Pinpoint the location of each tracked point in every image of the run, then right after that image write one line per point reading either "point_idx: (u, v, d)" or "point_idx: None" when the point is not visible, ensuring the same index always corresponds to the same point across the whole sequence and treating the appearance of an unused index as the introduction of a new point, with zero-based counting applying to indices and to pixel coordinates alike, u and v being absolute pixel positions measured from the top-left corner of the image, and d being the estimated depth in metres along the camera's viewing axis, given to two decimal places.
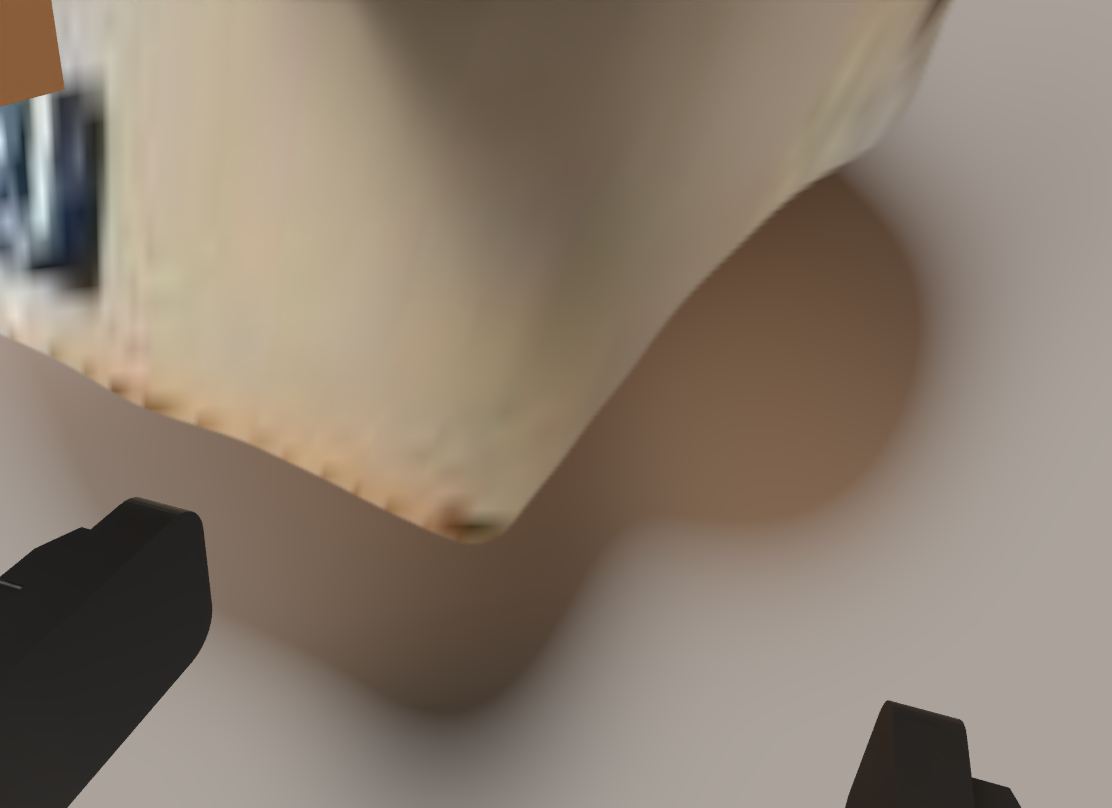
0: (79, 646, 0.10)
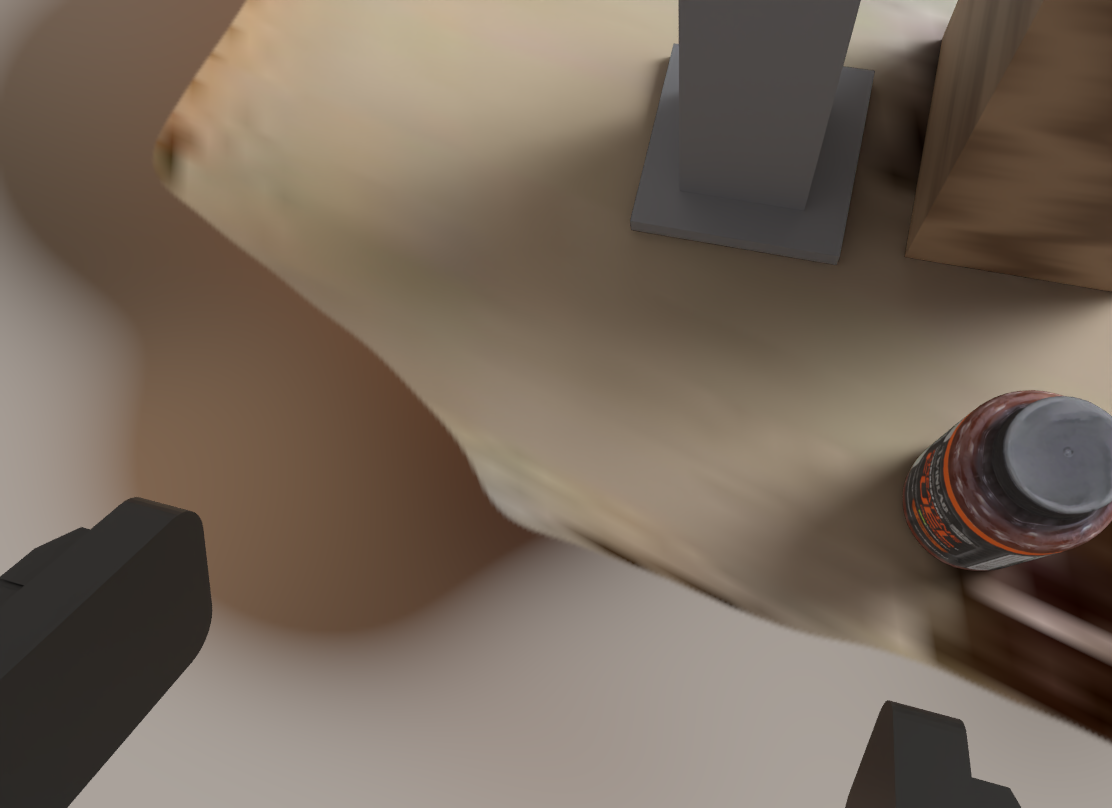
0: (80, 646, 0.10)
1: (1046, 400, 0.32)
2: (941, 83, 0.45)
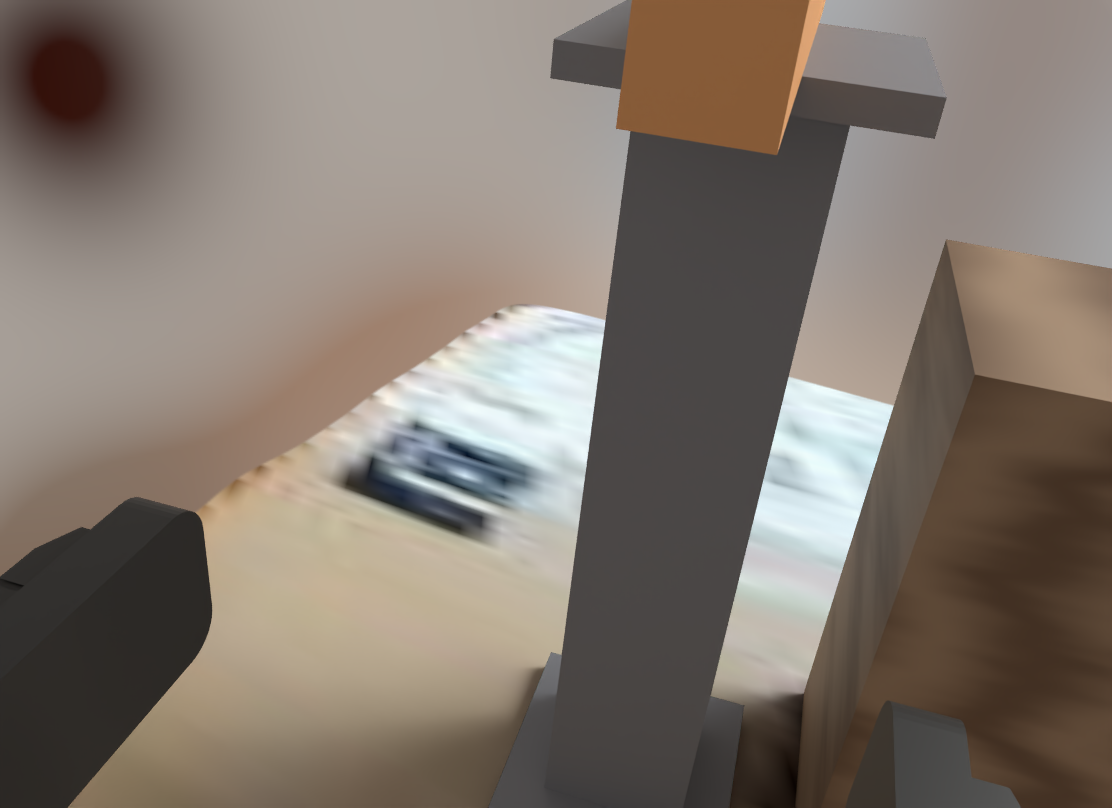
0: (79, 646, 0.10)
1: None
2: (809, 720, 0.46)
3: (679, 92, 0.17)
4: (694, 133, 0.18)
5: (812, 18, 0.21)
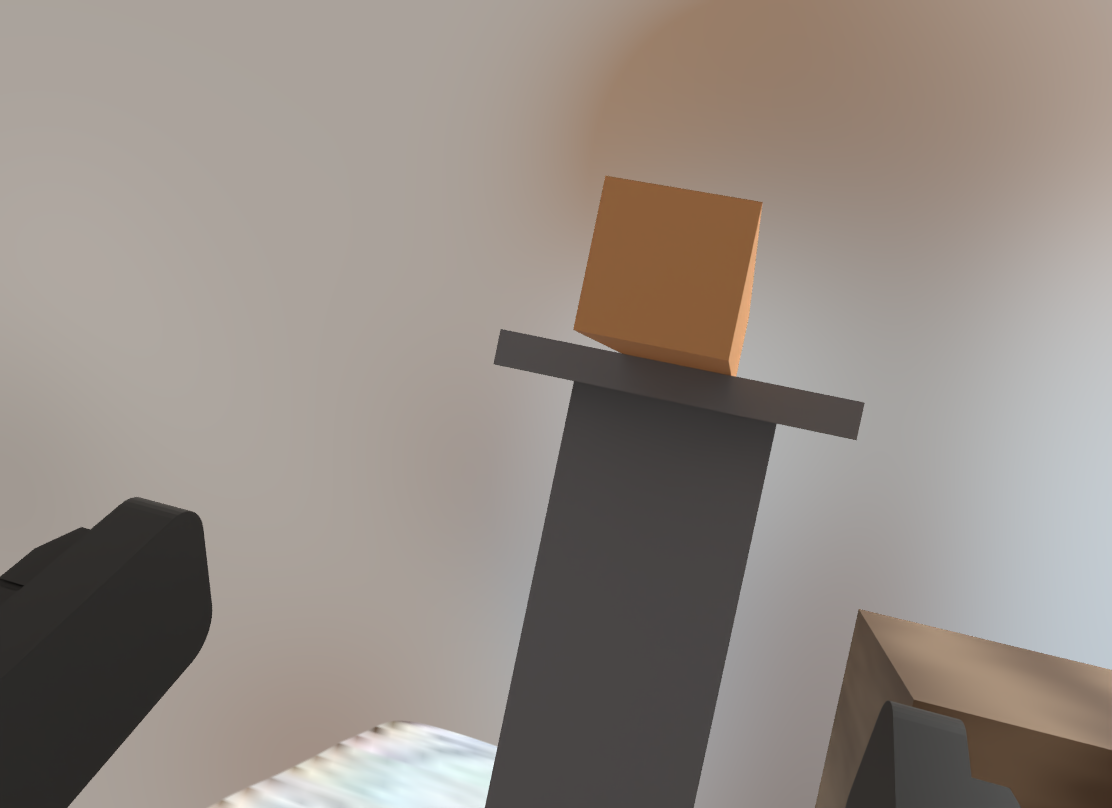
0: (79, 646, 0.10)
1: None
2: None
3: (636, 298, 0.18)
4: (649, 337, 0.18)
5: (744, 306, 0.24)
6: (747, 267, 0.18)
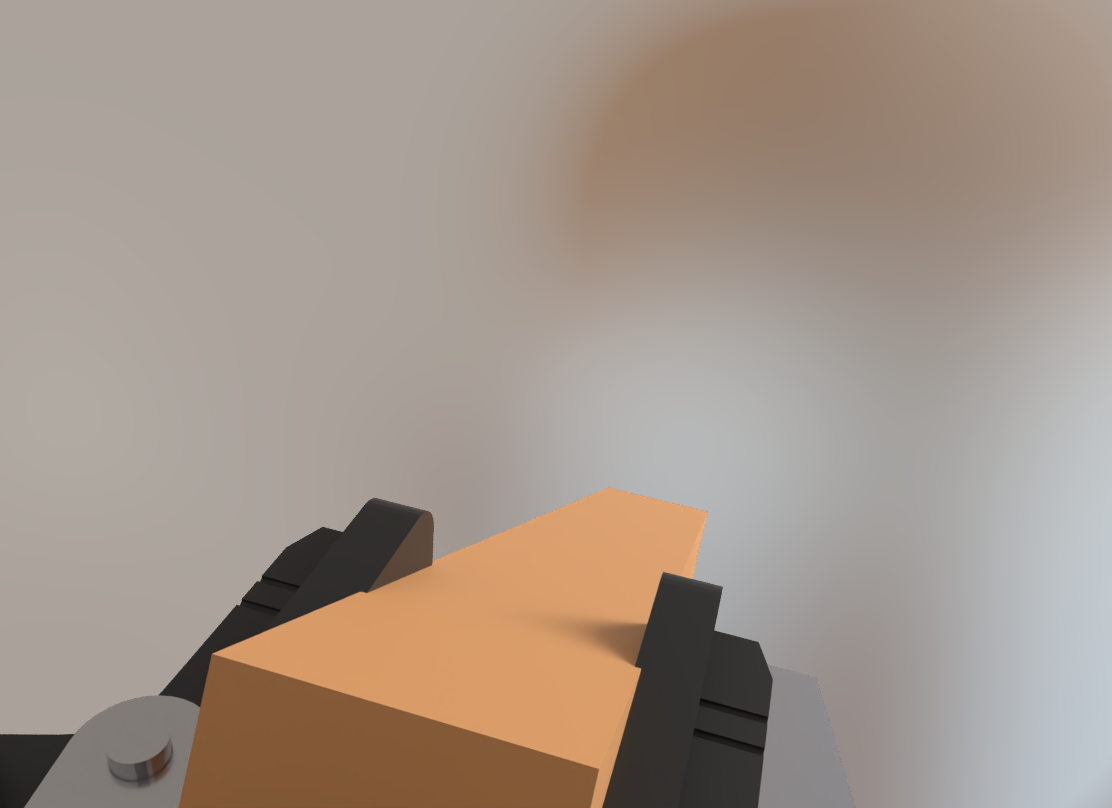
0: None
1: None
2: None
3: None
4: None
5: None
6: None
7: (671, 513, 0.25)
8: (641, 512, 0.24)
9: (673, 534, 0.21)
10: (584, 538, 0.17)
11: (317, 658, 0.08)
